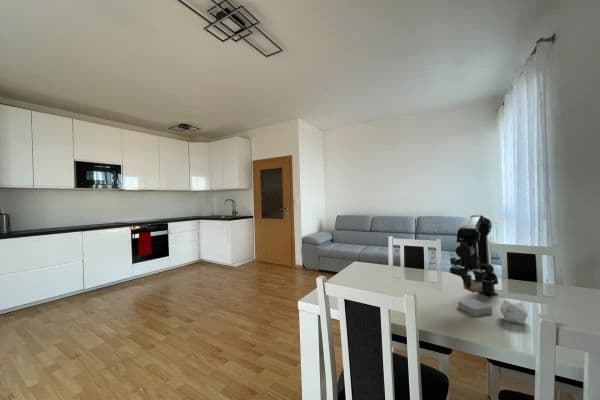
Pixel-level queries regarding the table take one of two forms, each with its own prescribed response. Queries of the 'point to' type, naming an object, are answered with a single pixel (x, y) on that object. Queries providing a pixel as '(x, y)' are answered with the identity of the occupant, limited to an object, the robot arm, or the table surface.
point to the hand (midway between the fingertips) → (472, 287)
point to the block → (474, 286)
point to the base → (475, 307)
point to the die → (513, 311)
